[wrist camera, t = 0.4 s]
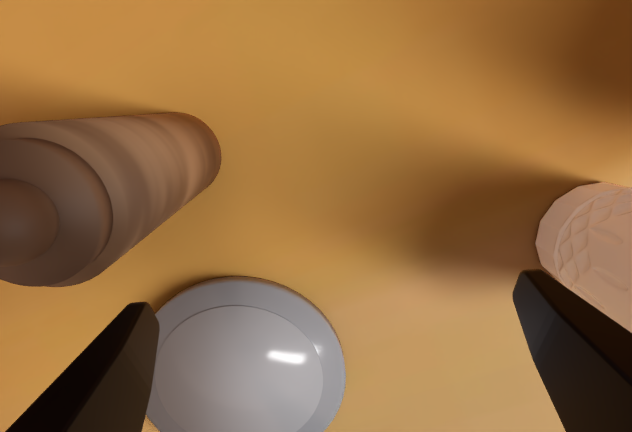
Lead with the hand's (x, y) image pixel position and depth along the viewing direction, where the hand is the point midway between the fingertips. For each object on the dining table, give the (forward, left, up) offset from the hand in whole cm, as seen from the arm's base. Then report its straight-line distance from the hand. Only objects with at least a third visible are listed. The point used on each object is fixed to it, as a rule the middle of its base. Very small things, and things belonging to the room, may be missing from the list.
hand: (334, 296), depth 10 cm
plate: (-13, -5, -15) cm, 20 cm away
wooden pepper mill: (-4, +7, -15) cm, 17 cm away
